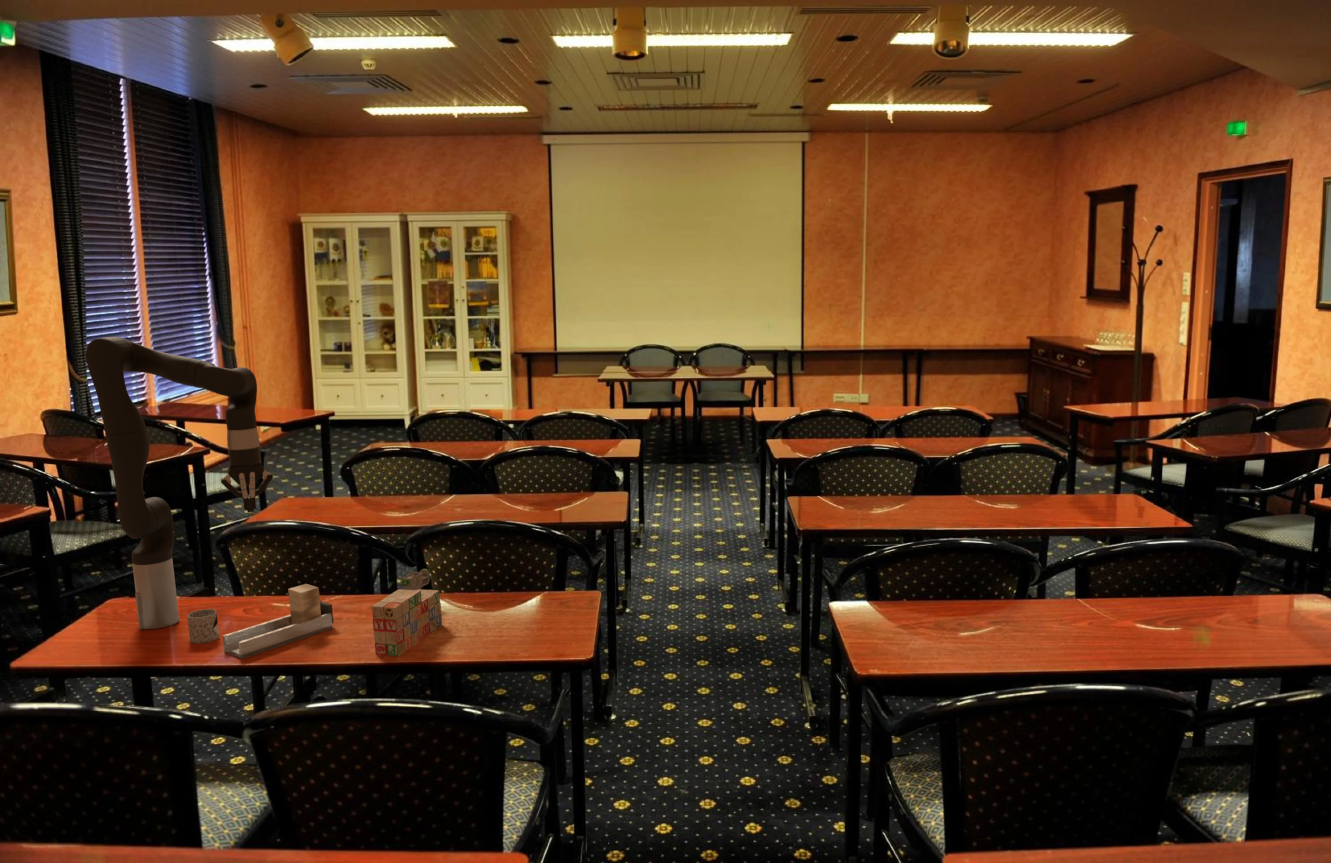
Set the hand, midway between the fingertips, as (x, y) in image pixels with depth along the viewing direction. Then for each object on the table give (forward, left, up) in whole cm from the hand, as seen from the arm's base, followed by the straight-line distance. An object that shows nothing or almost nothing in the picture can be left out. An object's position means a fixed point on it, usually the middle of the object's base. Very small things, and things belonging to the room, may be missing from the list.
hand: (250, 511), depth 252 cm
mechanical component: (+38, -15, -29) cm, 50 cm away
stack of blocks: (+32, -36, -29) cm, 56 cm away
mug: (-14, -7, -29) cm, 33 cm away
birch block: (+10, -16, -28) cm, 34 cm away
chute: (+3, -20, -29) cm, 35 cm away
